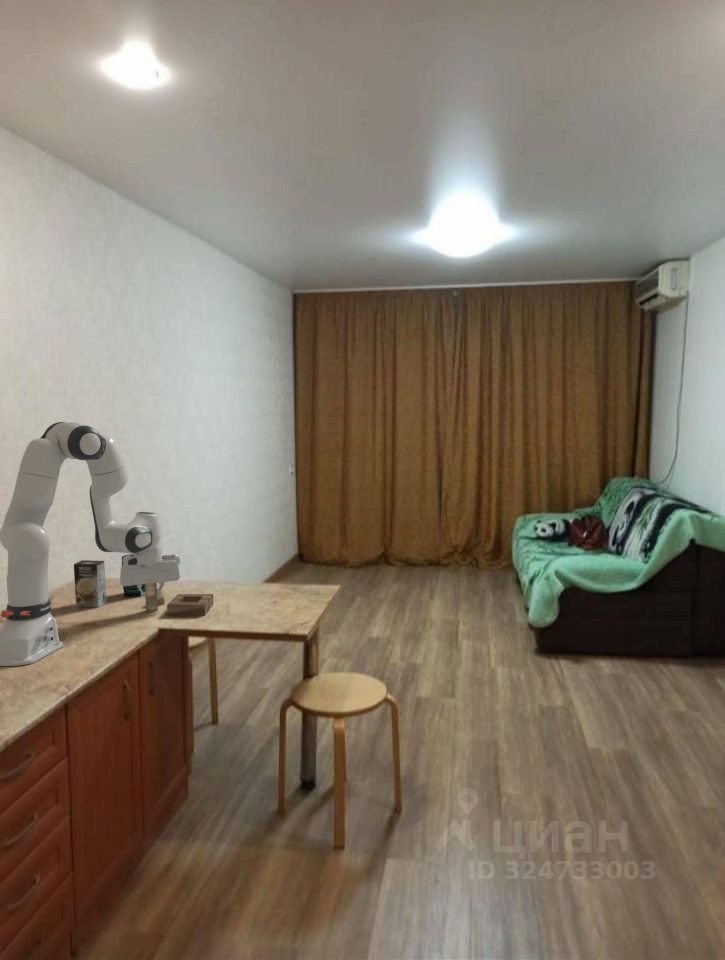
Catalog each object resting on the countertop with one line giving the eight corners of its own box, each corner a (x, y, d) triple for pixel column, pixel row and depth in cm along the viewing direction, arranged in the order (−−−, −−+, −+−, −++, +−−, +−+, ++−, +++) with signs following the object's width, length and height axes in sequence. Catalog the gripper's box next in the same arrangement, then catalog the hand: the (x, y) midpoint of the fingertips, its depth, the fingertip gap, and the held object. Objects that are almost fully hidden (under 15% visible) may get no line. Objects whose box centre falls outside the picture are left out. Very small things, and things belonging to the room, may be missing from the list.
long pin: (155, 612, 241) (154, 579, 240) (144, 612, 241) (142, 579, 240) (159, 608, 245) (157, 576, 244) (148, 609, 245) (146, 576, 244)
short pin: (162, 605, 249) (162, 592, 249) (151, 605, 249) (151, 592, 249) (166, 602, 253) (165, 589, 253) (155, 602, 253) (154, 589, 253)
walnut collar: (204, 615, 237) (204, 604, 236) (167, 616, 237) (166, 604, 236) (213, 604, 249) (213, 593, 249) (178, 605, 250) (177, 594, 249)
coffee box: (75, 607, 249) (72, 564, 247) (83, 602, 255) (81, 560, 254) (99, 607, 248) (96, 564, 246) (107, 602, 254) (104, 560, 253)
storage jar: (139, 598, 259) (137, 559, 258) (117, 596, 262) (115, 558, 261) (155, 591, 269) (153, 554, 267) (134, 589, 272) (132, 552, 270)
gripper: (178, 552, 248) (179, 589, 250) (118, 558, 240) (120, 596, 242) (180, 555, 242) (182, 593, 244) (119, 561, 234) (121, 601, 236)
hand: (151, 595), depth 243 cm, fingers closed on long pin, 4 cm apart
